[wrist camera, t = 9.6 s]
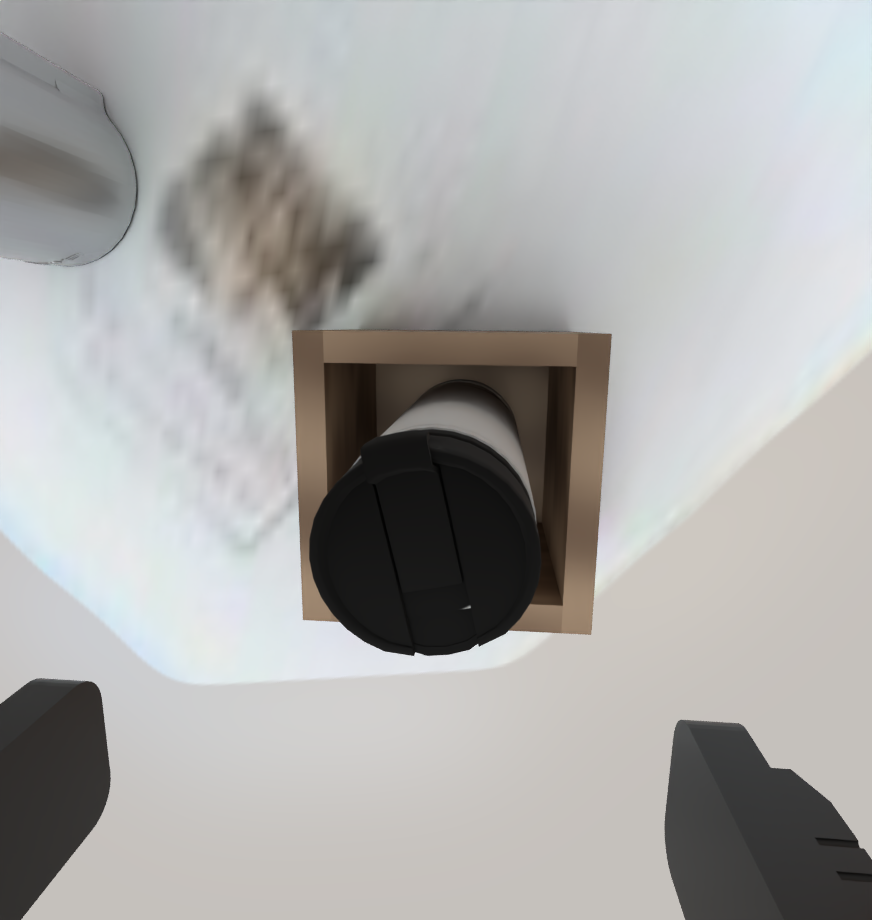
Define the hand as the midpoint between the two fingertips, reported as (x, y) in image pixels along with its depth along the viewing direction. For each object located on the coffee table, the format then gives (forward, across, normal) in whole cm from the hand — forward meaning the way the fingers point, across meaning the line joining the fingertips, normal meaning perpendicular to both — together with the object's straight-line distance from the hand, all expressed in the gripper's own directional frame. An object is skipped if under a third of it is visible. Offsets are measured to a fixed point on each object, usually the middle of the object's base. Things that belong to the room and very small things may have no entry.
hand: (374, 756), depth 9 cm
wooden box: (+28, 0, 0) cm, 28 cm away
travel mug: (+28, 0, 0) cm, 28 cm away
